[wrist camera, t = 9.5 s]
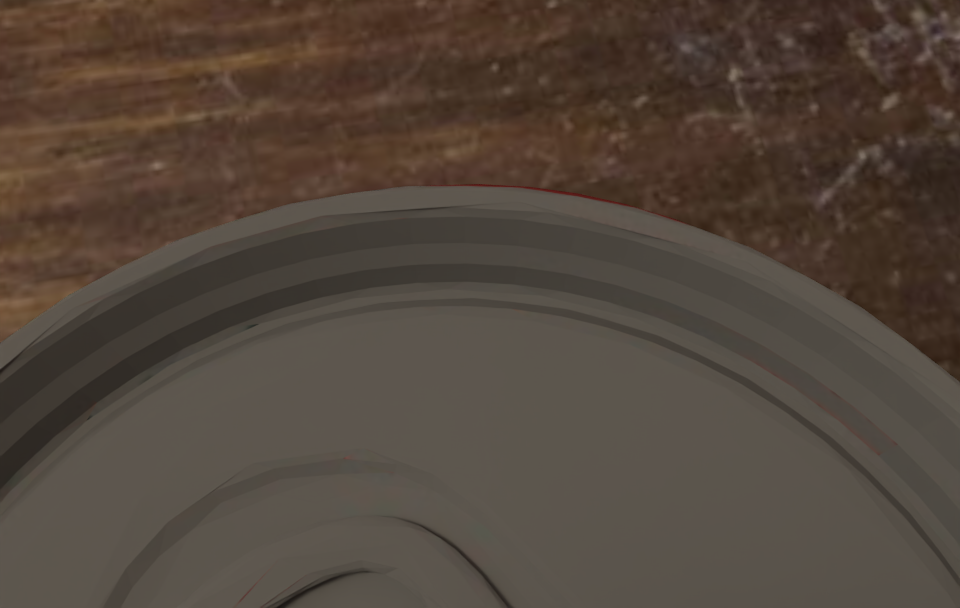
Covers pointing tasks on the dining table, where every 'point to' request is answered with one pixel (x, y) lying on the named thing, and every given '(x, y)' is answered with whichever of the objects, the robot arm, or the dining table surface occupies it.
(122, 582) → the beverage can
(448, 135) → the dining table surface
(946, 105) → the dining table surface
